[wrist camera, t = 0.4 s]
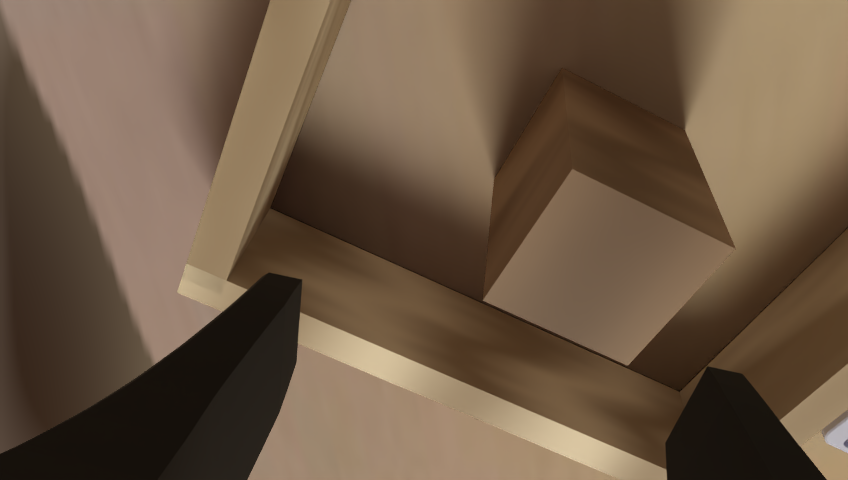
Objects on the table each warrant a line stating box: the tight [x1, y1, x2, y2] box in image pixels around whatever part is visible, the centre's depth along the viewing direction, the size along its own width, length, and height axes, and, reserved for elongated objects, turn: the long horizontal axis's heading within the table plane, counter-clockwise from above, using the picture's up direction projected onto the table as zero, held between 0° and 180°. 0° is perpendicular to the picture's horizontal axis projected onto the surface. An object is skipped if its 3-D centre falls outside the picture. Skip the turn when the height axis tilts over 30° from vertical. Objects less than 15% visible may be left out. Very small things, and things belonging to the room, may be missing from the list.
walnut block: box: [483, 68, 736, 366], centre depth 18 cm, size 4×4×6 cm
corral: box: [177, 0, 848, 480], centre depth 19 cm, size 18×14×4 cm
